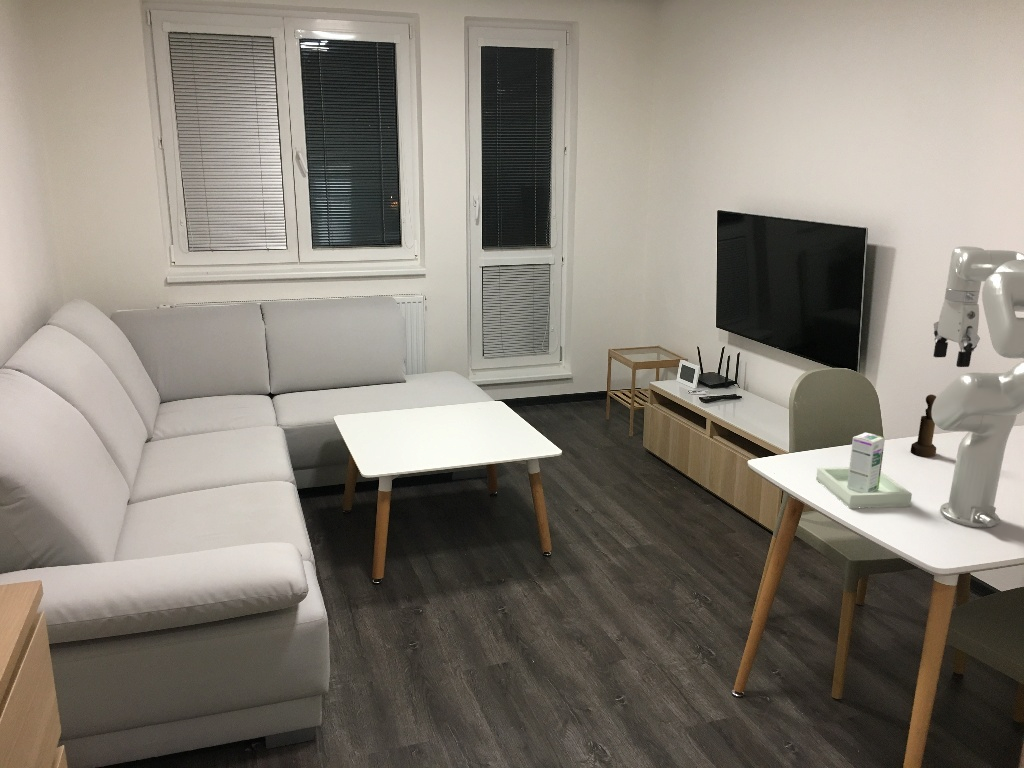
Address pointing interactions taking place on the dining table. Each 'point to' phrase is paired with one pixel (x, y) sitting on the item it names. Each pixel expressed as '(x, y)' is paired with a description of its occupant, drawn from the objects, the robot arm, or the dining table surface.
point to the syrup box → (865, 463)
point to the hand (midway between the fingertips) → (950, 361)
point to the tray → (883, 497)
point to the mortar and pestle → (926, 432)
